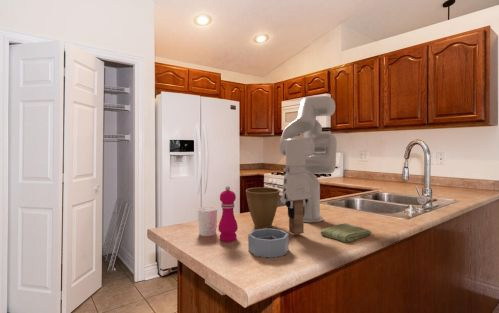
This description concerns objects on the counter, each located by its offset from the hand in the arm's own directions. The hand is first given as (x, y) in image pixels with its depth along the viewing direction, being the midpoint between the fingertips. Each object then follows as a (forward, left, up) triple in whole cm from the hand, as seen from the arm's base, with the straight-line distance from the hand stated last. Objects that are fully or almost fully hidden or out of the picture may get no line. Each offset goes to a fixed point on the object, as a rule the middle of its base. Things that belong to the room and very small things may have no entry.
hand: (296, 216), depth 110 cm
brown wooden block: (0, 0, -6) cm, 6 cm away
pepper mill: (-8, -26, -8) cm, 28 cm away
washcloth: (+8, +18, -8) cm, 21 cm away
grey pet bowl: (+9, -18, -7) cm, 21 cm away
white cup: (-17, -31, -8) cm, 36 cm away
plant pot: (-17, -6, -8) cm, 20 cm away
